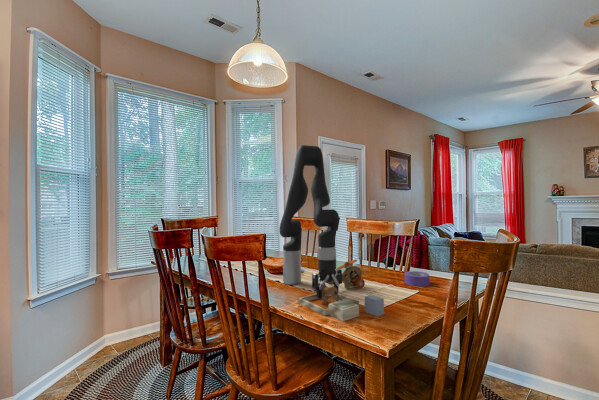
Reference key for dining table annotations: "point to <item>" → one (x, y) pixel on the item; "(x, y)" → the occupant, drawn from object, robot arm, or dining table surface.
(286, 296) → the dining table surface
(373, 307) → the fin block
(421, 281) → the tape roll
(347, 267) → the toy helicopter
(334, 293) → the lion figurine
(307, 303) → the grey rectangular frame
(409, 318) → the dining table surface
